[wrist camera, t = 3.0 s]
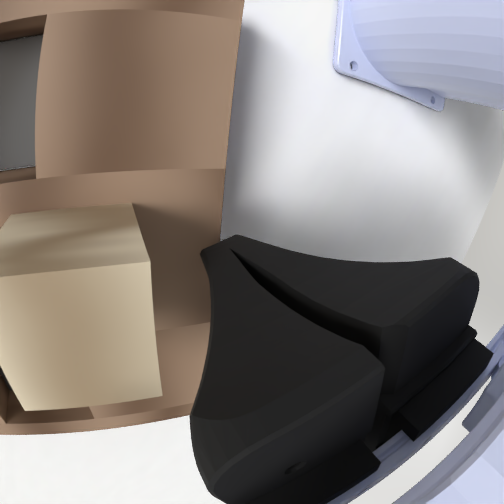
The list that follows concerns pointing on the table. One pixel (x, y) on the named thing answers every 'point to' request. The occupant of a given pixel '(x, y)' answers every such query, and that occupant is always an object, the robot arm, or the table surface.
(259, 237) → the table surface
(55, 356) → the maple block
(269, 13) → the table surface
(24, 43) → the box
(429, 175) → the table surface
